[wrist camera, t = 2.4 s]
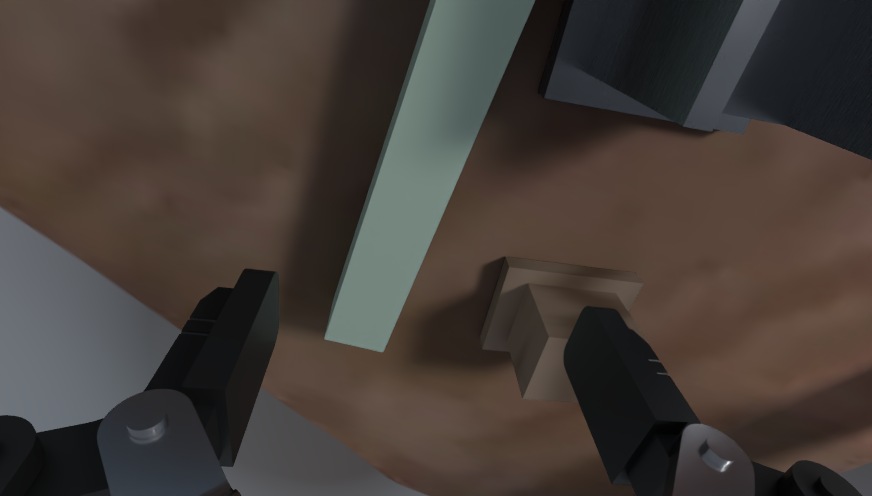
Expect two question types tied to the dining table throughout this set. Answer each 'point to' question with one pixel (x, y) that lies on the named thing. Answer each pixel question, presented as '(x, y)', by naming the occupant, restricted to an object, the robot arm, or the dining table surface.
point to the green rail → (422, 159)
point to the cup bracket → (721, 63)
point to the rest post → (550, 318)
